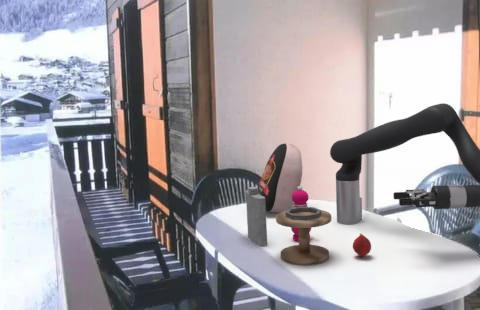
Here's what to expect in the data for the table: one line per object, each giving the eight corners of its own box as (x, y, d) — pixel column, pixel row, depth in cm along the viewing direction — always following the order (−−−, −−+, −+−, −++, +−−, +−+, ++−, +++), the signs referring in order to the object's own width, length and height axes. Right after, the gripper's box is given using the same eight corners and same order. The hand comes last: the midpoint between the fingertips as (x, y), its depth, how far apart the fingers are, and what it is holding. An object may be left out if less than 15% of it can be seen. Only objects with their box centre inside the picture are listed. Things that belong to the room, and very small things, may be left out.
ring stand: (312, 244, 195) (311, 201, 192) (343, 258, 179) (342, 212, 176) (268, 254, 187) (265, 209, 184) (296, 270, 171) (294, 221, 168)
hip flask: (268, 245, 196) (266, 190, 193) (257, 247, 195) (255, 192, 192) (254, 233, 211) (252, 182, 208) (244, 235, 210) (242, 183, 207)
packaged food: (253, 207, 250) (250, 142, 246) (295, 203, 254) (292, 139, 249) (264, 220, 229) (261, 148, 225) (309, 215, 233) (307, 145, 228)
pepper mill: (314, 237, 202) (312, 184, 199) (308, 243, 196) (306, 188, 193) (295, 235, 206) (293, 183, 202) (288, 241, 199) (286, 187, 196)
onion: (372, 254, 181) (371, 231, 180) (370, 260, 176) (369, 236, 174) (354, 253, 183) (353, 230, 182) (351, 259, 178) (351, 235, 176)
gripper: (441, 180, 181) (391, 182, 182) (455, 190, 167) (401, 192, 168) (441, 203, 182) (391, 205, 183) (455, 214, 168) (401, 216, 169)
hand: (396, 198), depth 176 cm, fingers open, 8 cm apart
